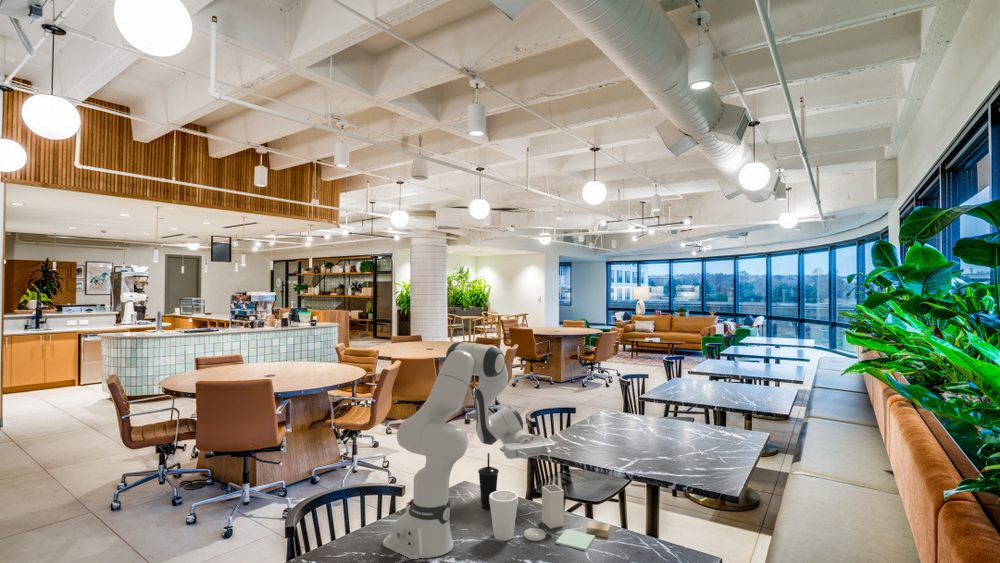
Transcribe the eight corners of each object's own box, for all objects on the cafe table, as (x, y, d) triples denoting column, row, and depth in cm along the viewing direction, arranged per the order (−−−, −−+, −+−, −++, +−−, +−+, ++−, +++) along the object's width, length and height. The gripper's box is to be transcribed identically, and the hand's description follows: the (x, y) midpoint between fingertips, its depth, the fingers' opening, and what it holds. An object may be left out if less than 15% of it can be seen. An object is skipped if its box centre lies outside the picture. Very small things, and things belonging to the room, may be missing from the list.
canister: (542, 521, 175) (542, 486, 175) (555, 518, 177) (555, 484, 177) (550, 528, 169) (550, 492, 169) (563, 525, 171) (563, 490, 171)
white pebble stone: (520, 538, 162) (520, 535, 162) (529, 530, 169) (529, 526, 169) (540, 543, 159) (540, 539, 159) (548, 534, 165) (548, 530, 166)
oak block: (586, 534, 165) (586, 527, 165) (589, 528, 170) (589, 521, 170) (608, 538, 163) (608, 530, 163) (610, 532, 167) (610, 524, 168)
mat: (555, 543, 159) (555, 541, 159) (566, 530, 167) (566, 528, 167) (585, 551, 154) (585, 549, 154) (595, 537, 163) (595, 535, 163)
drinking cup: (489, 501, 191) (490, 449, 192) (502, 508, 185) (502, 453, 186) (473, 507, 186) (474, 452, 187) (486, 513, 180) (486, 458, 181)
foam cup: (514, 544, 158) (515, 502, 159) (486, 541, 160) (486, 500, 160) (519, 530, 167) (519, 491, 168) (492, 528, 169) (493, 489, 170)
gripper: (498, 439, 193) (512, 449, 180) (545, 434, 200) (562, 443, 188) (498, 456, 192) (512, 467, 180) (545, 449, 200) (562, 460, 187)
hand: (538, 455), depth 184 cm, fingers open, 8 cm apart
